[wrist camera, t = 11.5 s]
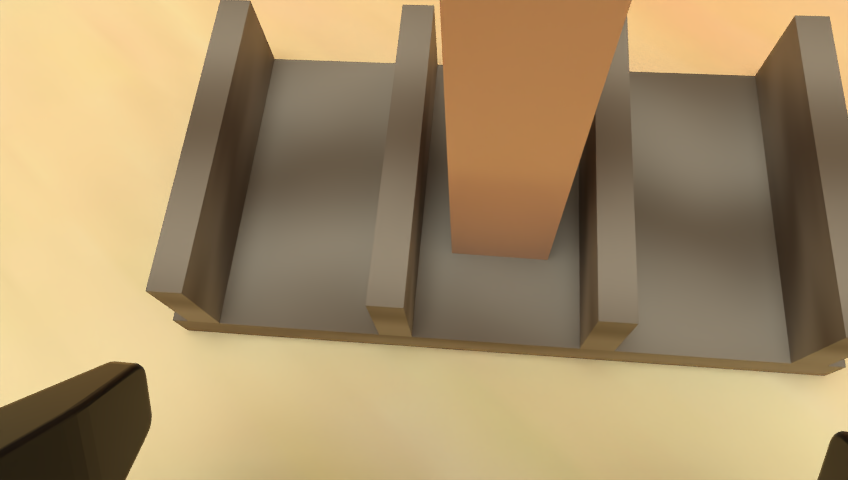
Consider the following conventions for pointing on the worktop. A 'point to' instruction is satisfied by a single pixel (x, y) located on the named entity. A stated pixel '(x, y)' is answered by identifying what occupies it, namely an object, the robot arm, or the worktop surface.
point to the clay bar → (520, 114)
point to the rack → (577, 232)
